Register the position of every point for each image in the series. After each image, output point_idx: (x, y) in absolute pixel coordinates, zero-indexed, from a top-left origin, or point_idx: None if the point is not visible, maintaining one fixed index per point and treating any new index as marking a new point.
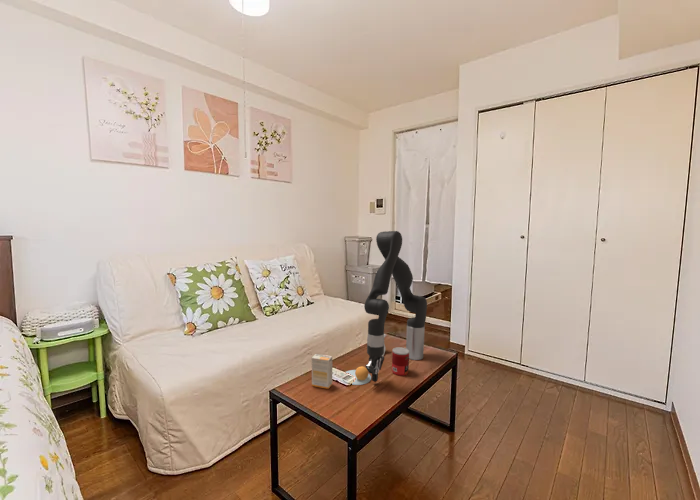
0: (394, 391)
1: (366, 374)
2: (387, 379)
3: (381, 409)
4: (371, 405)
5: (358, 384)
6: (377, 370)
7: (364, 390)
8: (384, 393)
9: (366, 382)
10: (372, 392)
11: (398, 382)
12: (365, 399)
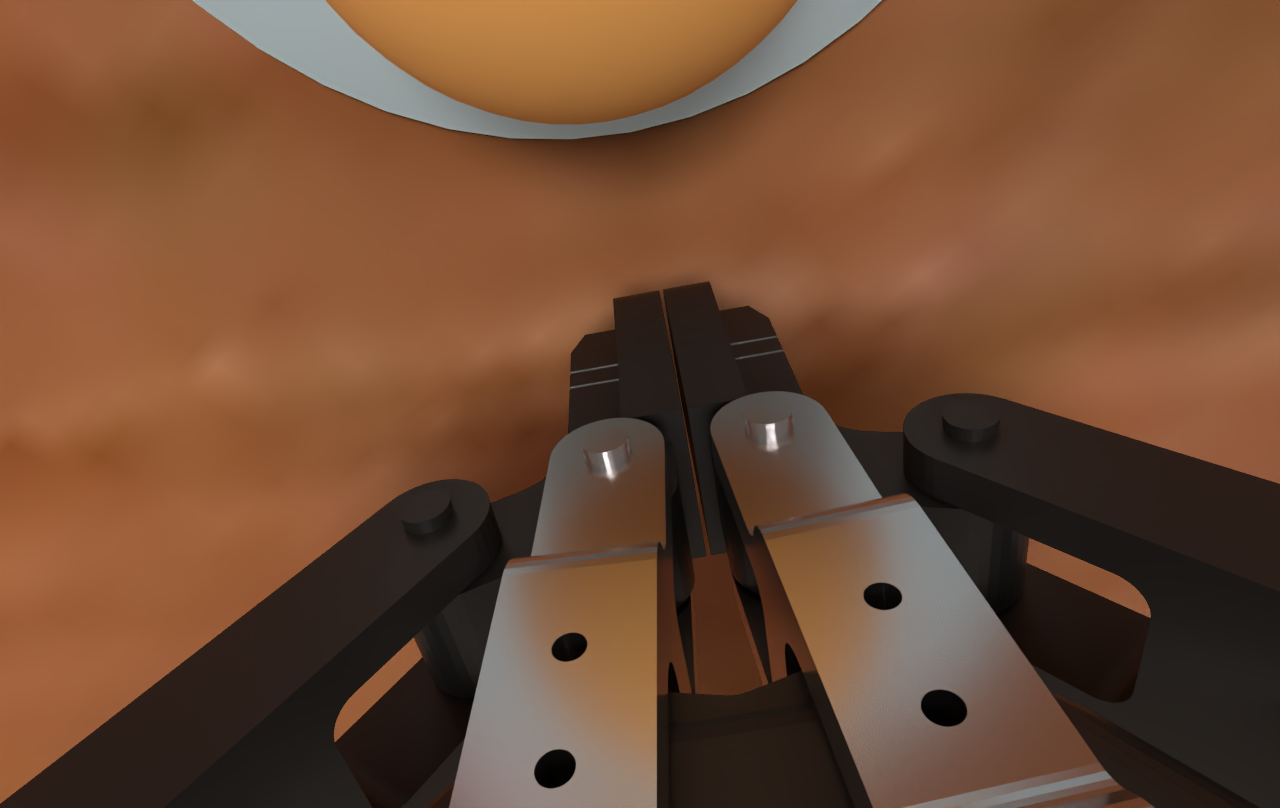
0: (715, 685)
1: (567, 123)
2: (1058, 361)
3: None
4: (66, 719)
5: (241, 34)
6: (747, 631)
7: (236, 345)
8: None
9: (531, 122)
10: (349, 499)
11: (1060, 564)
12: (56, 571)
